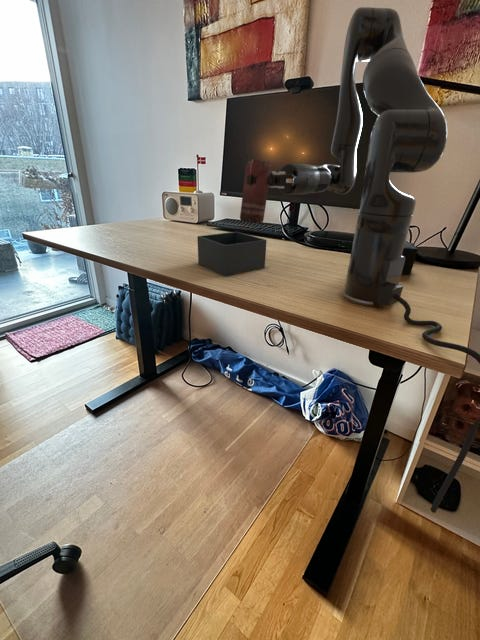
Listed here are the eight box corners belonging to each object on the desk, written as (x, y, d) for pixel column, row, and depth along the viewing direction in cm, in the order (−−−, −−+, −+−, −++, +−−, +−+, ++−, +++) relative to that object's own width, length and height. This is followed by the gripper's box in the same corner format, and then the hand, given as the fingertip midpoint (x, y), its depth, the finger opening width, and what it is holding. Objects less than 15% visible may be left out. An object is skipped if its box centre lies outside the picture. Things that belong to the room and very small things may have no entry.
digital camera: (415, 275, 79) (423, 249, 76) (393, 273, 80) (400, 247, 77) (404, 264, 88) (411, 240, 85) (384, 263, 89) (390, 239, 86)
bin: (264, 267, 82) (266, 239, 78) (225, 276, 74) (225, 245, 71) (236, 257, 91) (236, 231, 88) (198, 263, 84) (197, 236, 80)
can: (235, 219, 76) (242, 158, 71) (246, 220, 81) (253, 163, 76) (256, 223, 74) (265, 159, 69) (266, 223, 79) (275, 164, 74)
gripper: (282, 163, 84) (232, 162, 75) (320, 164, 75) (268, 162, 65) (280, 192, 87) (232, 194, 78) (316, 196, 78) (266, 199, 69)
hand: (248, 180), depth 72 cm, fingers closed
